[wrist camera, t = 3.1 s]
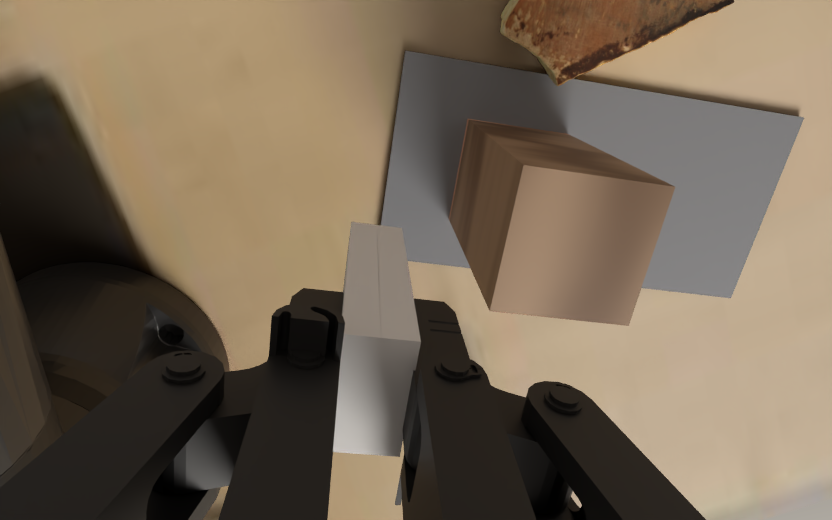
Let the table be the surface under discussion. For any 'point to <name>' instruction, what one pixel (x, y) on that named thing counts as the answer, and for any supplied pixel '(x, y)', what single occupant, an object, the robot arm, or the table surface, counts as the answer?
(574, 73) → the shard
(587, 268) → the light brown wooden block
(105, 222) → the table surface
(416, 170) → the grey mat
